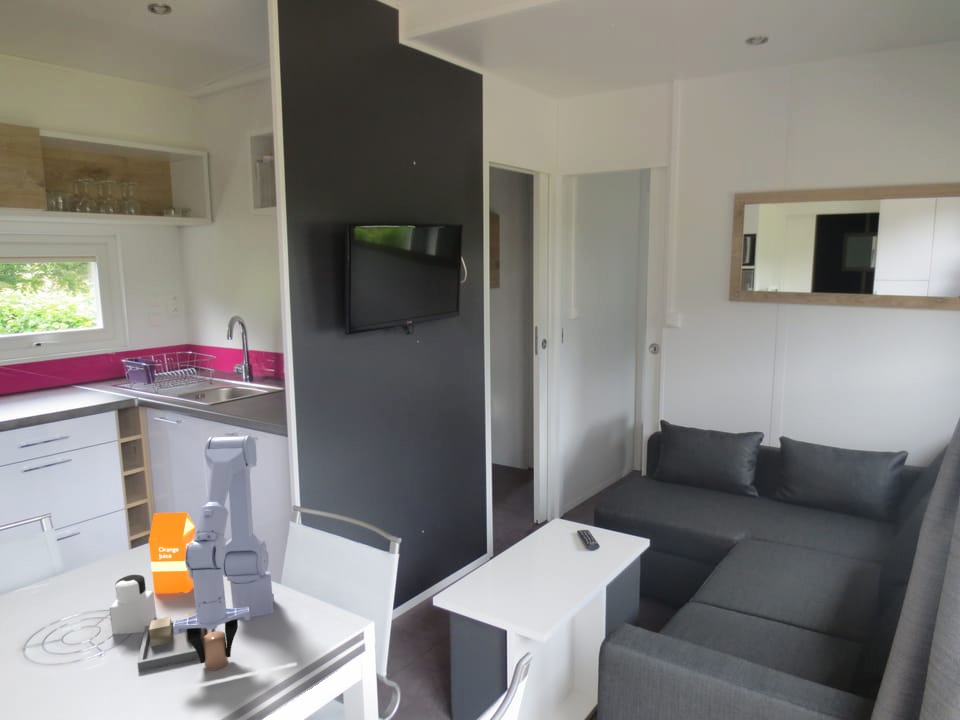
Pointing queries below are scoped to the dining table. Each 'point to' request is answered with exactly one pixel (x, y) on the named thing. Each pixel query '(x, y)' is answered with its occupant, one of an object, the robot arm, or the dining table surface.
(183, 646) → the tray
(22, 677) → the dining table surface
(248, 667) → the dining table surface
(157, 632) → the birch block
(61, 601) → the dining table surface
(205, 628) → the birch block
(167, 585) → the orange juice
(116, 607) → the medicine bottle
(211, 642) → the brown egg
